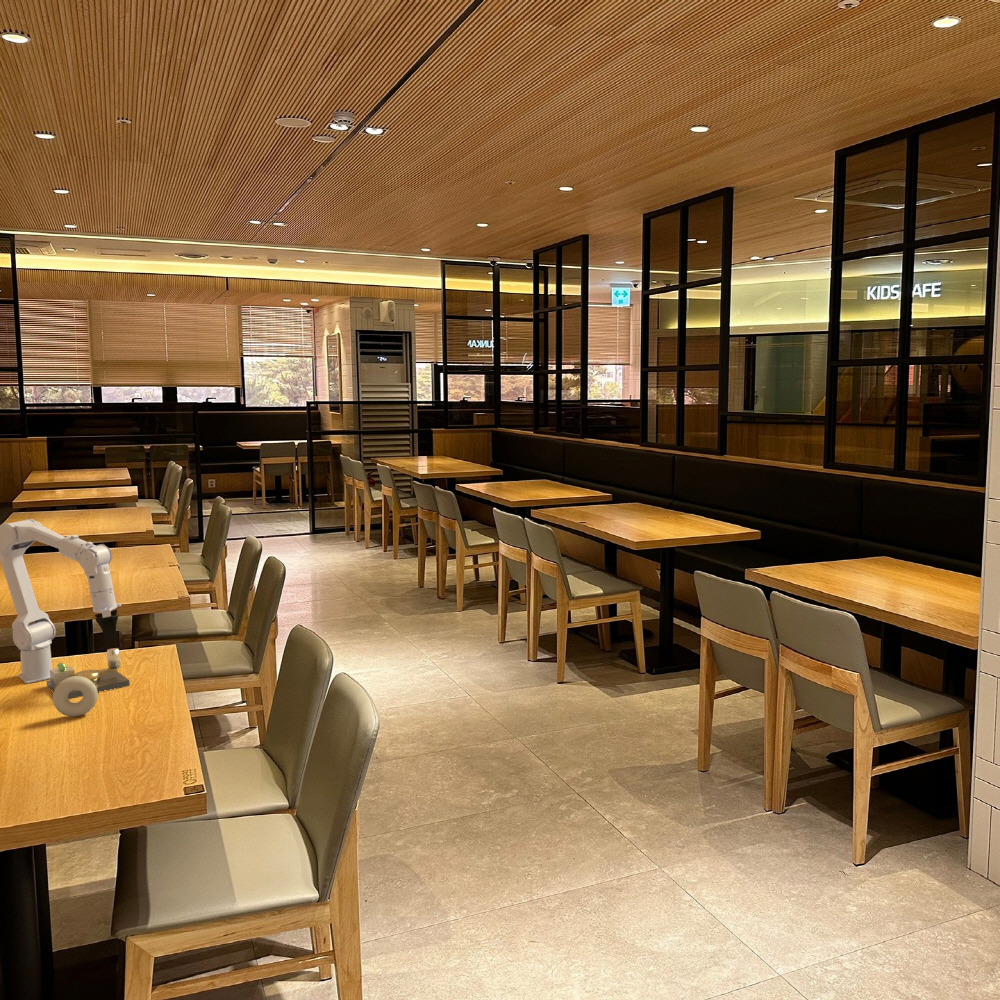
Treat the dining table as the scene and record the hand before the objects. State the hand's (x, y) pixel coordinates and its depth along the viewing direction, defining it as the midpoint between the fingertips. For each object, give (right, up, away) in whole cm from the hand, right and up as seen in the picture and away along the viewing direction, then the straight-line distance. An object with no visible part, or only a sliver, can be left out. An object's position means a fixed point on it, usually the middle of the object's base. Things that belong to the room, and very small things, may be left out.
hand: (111, 639), depth 240 cm
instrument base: (-6, -12, 0) cm, 14 cm away
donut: (+1, -15, -22) cm, 27 cm away
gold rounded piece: (-4, -11, +2) cm, 12 cm away
